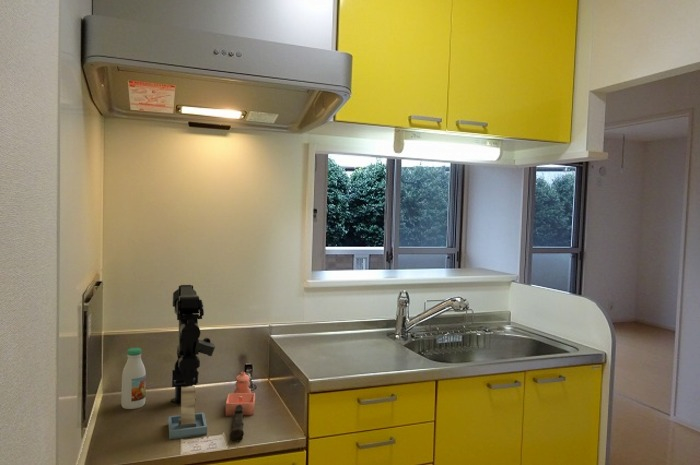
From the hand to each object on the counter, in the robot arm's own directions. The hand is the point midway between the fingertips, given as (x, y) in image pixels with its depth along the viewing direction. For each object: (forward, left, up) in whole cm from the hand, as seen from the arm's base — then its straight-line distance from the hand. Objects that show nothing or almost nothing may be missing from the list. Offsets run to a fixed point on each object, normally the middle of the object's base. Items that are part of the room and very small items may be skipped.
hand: (187, 380), depth 159 cm
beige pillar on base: (+6, -4, -12) cm, 14 cm away
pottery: (+3, +20, -13) cm, 25 cm away
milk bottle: (-23, -6, -13) cm, 27 cm away
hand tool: (+17, +7, -14) cm, 23 cm away
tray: (+6, -4, -13) cm, 15 cm away
